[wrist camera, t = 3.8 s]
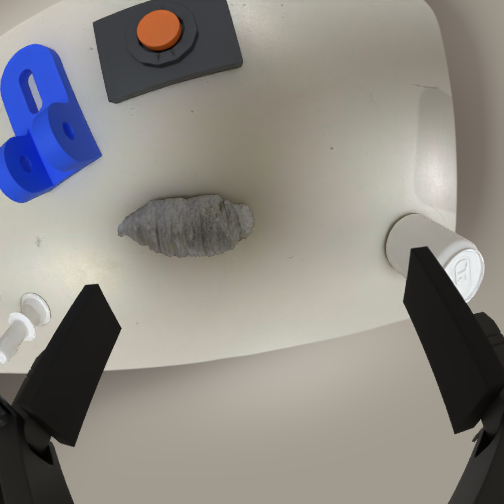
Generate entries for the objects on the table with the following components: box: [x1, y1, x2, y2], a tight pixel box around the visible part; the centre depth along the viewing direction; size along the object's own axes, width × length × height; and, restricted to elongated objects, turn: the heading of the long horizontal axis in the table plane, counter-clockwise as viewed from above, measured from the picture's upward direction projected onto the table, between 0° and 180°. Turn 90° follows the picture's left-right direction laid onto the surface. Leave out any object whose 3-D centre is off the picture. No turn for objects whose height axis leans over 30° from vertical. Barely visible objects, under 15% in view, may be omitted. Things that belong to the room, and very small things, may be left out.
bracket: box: [0, 44, 102, 203], centre depth 24 cm, size 18×8×9 cm, turn 24°
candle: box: [0, 293, 50, 364], centre depth 32 cm, size 5×5×12 cm
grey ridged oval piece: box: [118, 194, 254, 258], centre depth 32 cm, size 6×14×8 cm, turn 92°
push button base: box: [93, 0, 243, 103], centre depth 26 cm, size 14×10×4 cm
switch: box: [137, 10, 181, 51], centre depth 23 cm, size 4×4×2 cm
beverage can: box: [386, 214, 484, 303], centre depth 34 cm, size 8×8×12 cm
